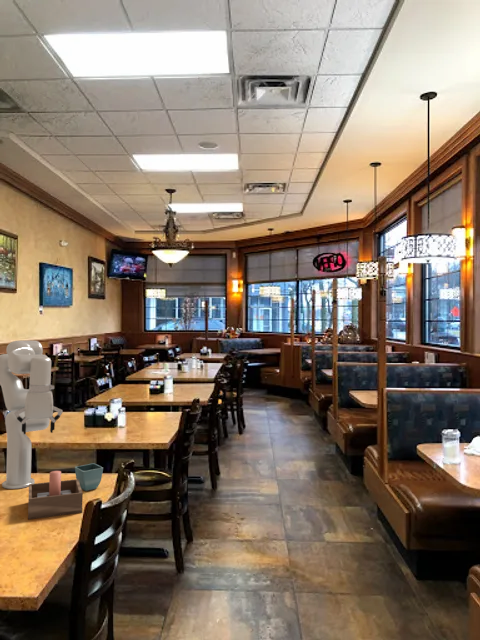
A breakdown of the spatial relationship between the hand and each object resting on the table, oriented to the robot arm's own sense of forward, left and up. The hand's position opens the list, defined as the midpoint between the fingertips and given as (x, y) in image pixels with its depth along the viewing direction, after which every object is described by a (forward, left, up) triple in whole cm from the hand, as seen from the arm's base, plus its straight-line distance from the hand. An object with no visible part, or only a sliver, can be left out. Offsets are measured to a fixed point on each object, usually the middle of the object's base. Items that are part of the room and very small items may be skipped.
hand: (38, 432), depth 189 cm
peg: (+10, +6, -25) cm, 28 cm away
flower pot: (-8, +20, -26) cm, 34 cm away
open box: (+10, +6, -26) cm, 29 cm away
